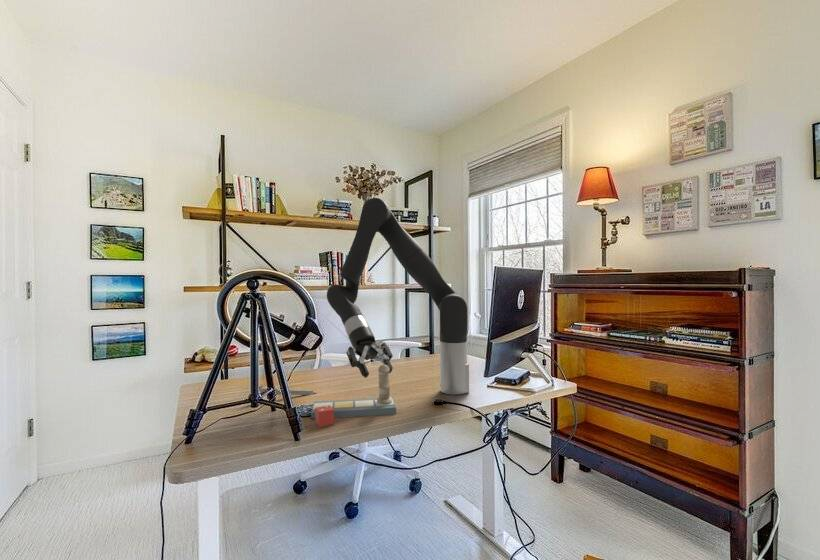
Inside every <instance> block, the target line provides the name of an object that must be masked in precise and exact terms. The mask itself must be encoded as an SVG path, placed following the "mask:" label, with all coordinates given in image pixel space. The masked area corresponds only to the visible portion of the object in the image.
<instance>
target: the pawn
mask: <svg viewBox="0 0 820 560" xmlns="http://www.w3.org/2000/svg"><path fill="white" fill-rule="evenodd" d="M377 370H378V371H377V372H378V396H377V397H376V398H377V403H378V404H390V403H391V402H392V397H393V396H390V393H391V392H390V388H391V387H390V373H389V371H390V369H389V367H388V366H387V365H385V364H384V363H382V364H381V365H379V367H378V369H377Z"/></svg>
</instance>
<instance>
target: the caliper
mask: <svg viewBox="0 0 820 560" xmlns="http://www.w3.org/2000/svg"><path fill="white" fill-rule="evenodd" d="M267 388H268V387H264V385H263V384H261V385H259V391H260V393H262V392H265V391H267ZM274 388H275V391H276V397H277V396H278V395H279V396H282V395H281V392H280V390H281V389H278V388H277V387H274ZM289 390H290V393H291V395H290V396H297V395H298V396H310V395H313V394H317V392H316V391H314V390H313V389H289Z"/></svg>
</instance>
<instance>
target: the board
mask: <svg viewBox="0 0 820 560" xmlns="http://www.w3.org/2000/svg"><path fill="white" fill-rule="evenodd" d="M391 397H392V402H391V403H390V404H378V403H377V398H378V397H375V398H373V397H372V398H357V399H356V398H355V399H353V398H352V399H338V400H321V401H313V404H312V408H311V412H310V419H311V418H315V408H316V407H322V406H328V405H330V406H331V407H332V408H333V409H334V417H336V418H348V416H352V417H362V416H363V417H365V416H367V417H369V416H381V415H382V416H383V415H397V406H396V403H395V400H394V398H393V396H391Z"/></svg>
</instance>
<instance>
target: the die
mask: <svg viewBox="0 0 820 560" xmlns="http://www.w3.org/2000/svg"><path fill="white" fill-rule="evenodd" d="M314 422H315V424H316V423H317V424H318V425H317V424H316V425H317V426H318V428H321V427H320V426H322V427H326V426H325V425H327V426H331V425H330V424H333V425H335V418H334V409H333V408H332V407H331V406H330V405H328V406H322V407H316V408H315V419H314Z"/></svg>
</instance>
